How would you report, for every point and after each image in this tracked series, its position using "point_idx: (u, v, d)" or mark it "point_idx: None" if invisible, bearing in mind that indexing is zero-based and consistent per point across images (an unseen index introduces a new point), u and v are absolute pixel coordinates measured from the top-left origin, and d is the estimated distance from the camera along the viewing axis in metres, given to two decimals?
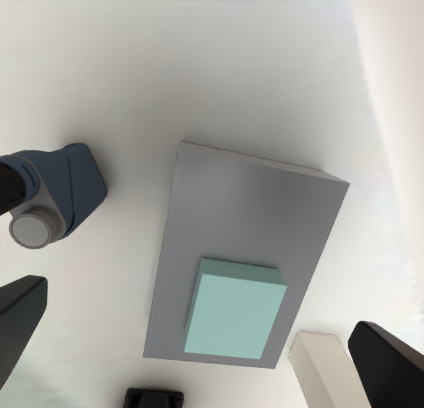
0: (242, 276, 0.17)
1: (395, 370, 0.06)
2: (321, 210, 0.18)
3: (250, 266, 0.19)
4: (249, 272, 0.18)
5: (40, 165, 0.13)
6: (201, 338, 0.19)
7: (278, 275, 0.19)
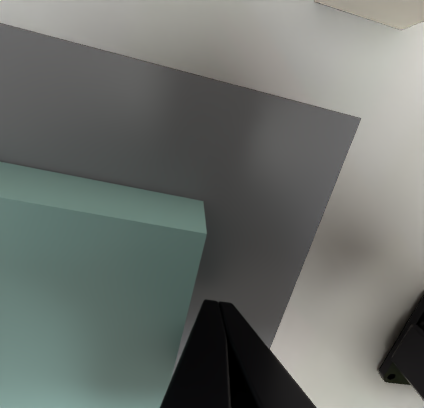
0: None
1: None
2: None
3: None
4: None
5: None
6: (106, 398, 0.06)
7: None
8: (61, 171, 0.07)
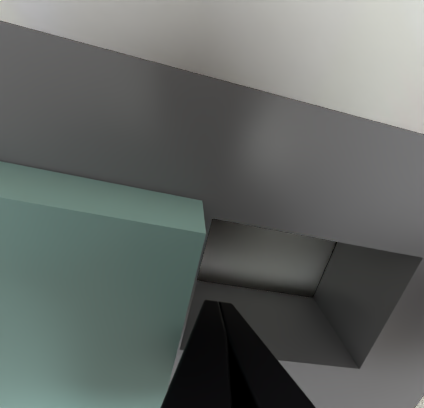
0: None
1: None
2: (9, 88, 0.06)
3: None
4: None
5: None
6: (104, 399, 0.06)
7: None
8: (322, 222, 0.07)
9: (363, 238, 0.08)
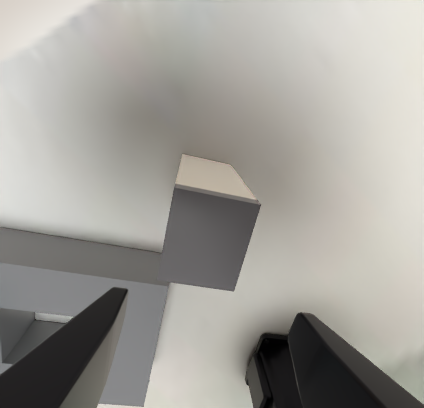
0: None
1: (321, 362, 0.06)
2: None
3: None
4: None
5: None
6: None
7: None
8: (52, 307, 0.17)
9: (74, 313, 0.17)
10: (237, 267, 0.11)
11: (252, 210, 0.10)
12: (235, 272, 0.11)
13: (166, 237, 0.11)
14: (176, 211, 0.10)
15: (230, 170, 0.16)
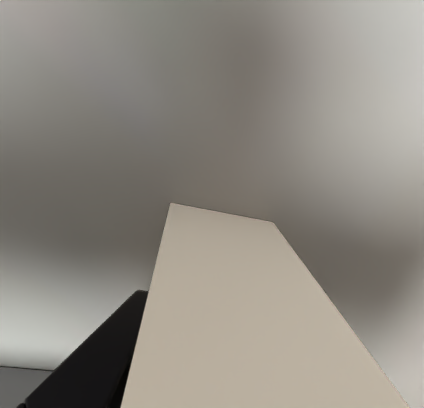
0: None
1: None
2: None
3: None
4: None
5: None
6: None
7: None
8: None
9: None
10: None
11: None
12: None
13: None
14: None
15: (286, 256, 0.07)
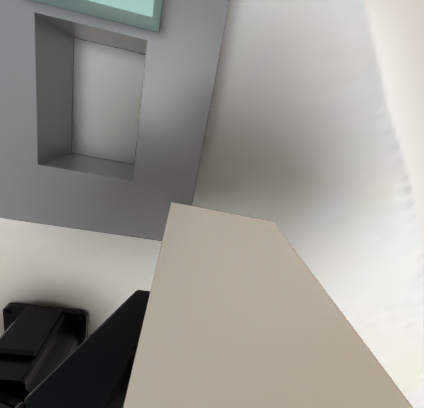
0: None
1: None
2: None
3: None
4: None
5: None
6: None
7: None
8: (150, 113, 0.13)
9: (142, 140, 0.14)
10: None
11: None
12: None
13: None
14: None
15: (287, 255, 0.07)
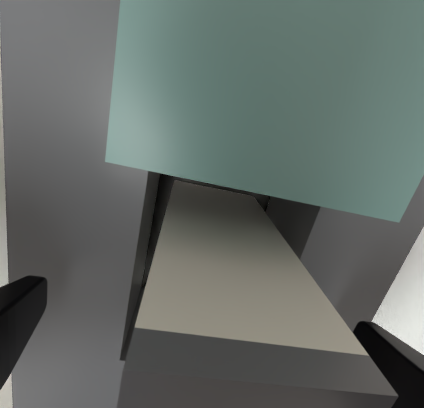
0: None
1: (395, 370, 0.06)
2: None
3: None
4: None
5: None
6: (178, 86, 0.04)
7: None
8: None
9: None
10: None
11: None
12: None
13: None
14: None
15: (258, 214, 0.09)
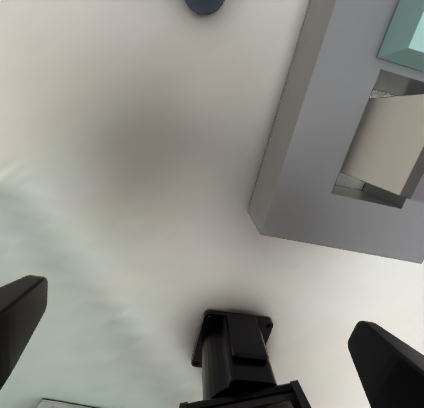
0: None
1: (395, 370, 0.06)
2: None
3: None
4: None
5: None
6: None
7: None
8: None
9: None
10: None
11: None
12: None
13: None
14: None
15: None
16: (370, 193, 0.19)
